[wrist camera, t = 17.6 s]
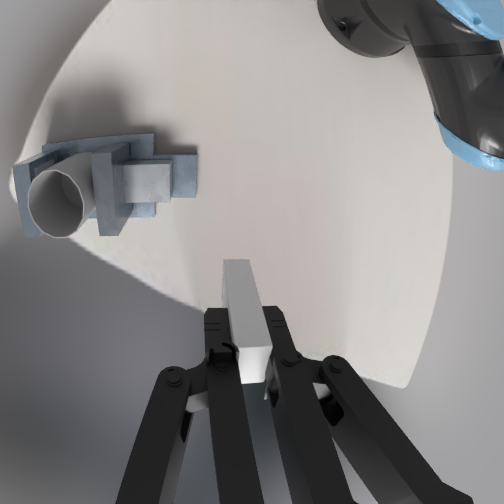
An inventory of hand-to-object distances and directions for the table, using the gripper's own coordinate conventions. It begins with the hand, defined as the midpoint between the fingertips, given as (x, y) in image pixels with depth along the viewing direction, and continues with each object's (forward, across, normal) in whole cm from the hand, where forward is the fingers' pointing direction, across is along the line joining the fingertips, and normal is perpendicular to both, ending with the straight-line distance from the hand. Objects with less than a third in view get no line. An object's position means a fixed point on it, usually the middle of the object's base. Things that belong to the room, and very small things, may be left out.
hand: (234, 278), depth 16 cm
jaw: (+23, -11, 0) cm, 25 cm away
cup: (+23, -19, 0) cm, 30 cm away
